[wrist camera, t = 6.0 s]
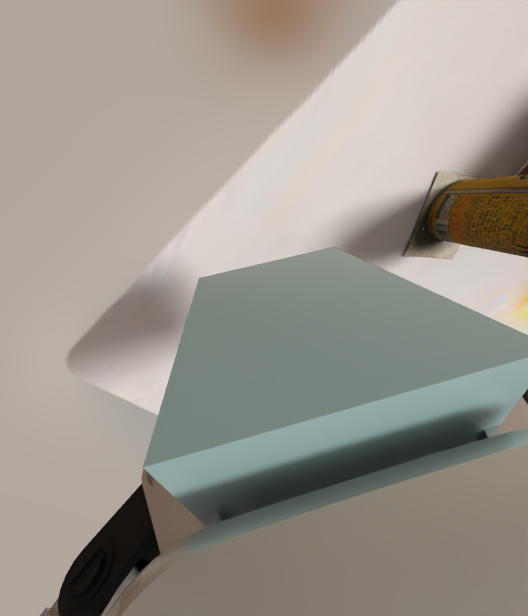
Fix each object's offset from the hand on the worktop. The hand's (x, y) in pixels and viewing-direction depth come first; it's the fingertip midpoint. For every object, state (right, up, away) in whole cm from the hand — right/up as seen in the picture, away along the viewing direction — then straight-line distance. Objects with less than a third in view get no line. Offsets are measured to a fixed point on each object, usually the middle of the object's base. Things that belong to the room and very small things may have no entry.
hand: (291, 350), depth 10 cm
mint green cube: (-1, +2, +3) cm, 3 cm away
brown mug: (+19, +12, +13) cm, 26 cm away
